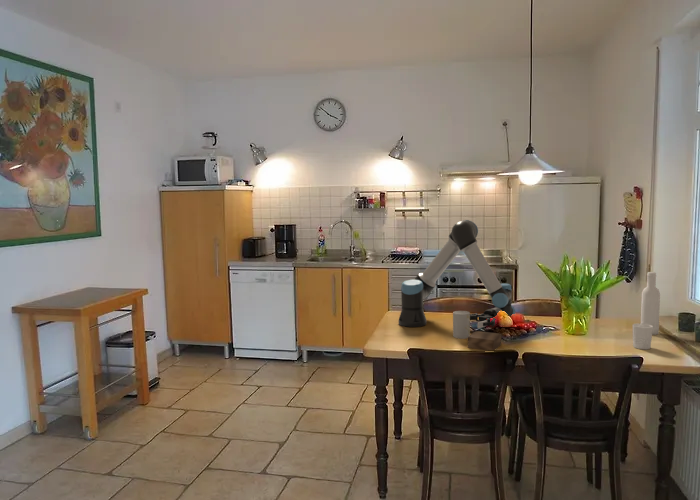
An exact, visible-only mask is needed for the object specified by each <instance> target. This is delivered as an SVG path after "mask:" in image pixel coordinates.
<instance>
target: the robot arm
mask: <svg viewBox="0 0 700 500" xmlns="http://www.w3.org/2000/svg"><path fill="white" fill-rule="evenodd" d="M478 234H479V228H478V226H477V225H476V223H475V222H473V221H472V220H469V219H464V220H461V221H458V222H456V223H454V225H453V226H452V228H451V232H450V233H449V234H448V240H447V242H446V243H445V244H444V245H443V247H441V249H440V250H439V252H438V253H437V254H436V255H435V256H434V258H433V259H432V261H431V262H430V263H429V264H428V266H427V267H426V268H425V269H424V271H423V272H419V273H418V274H417V275H416V277H415V278H414V279H408V280H407V279H406V280H404V281H403V282H402V283H401V289H400V290H401V295H400V296H401V311H400V314H399V318H398V325H399V326H401V327H406V328H418V327H424V326H427V318H426V314H425V312H424V300H425V299H427V298H428V297H429V296H430V295H431V292H433V290H434V288H435V287H436V286H437V285H436V282H437V280H438V279H439V278H440V277H441V276H442V274H443V273H444V272H445V270H446V269H447V268H448V267H449V266H450V264H451V263H452V262H453V260H455V259H456V257H457V256H458V254H459V253H460V252H463V253H464V254H465V256H466V258H467V260H468V261H469V263H470V265H471V266H472V268H473V269H474V271H475V273H476V274H477V277H478V278H479V280H480V281H481V283H482V284H483V286H484V287H485V289H486V291H487V292H488V294H489V296H490V298H491V301H492V304H493V306H494V308H489V309H486V310H485V311H483V313H477V312H475V313H470V321H476V322H477V327H476V328H477V329H481V328H485V327H495V326H496V324H495V320H496V319H495V318H493V317H495V316H496V315H497V313H498V312H499V311H500V310H502V311H505V312H506V313H507V314H508V315H509V316H511V315H512V314H515V315H516V309H515V308H514V306H513V305H512V291H513V290H512V284H510V283H500V281H499V279H498V277H497V276H496V274H495V272H494V271H493V269H492V268H491V266H490V264H489V262H488V261H487V259H486V257H485V256H484V254H483V253H482V250H481V249H480V247H479V246H478V240H477V239H476V238H477V236H478ZM490 318H493V320H492V321H491V322H490ZM486 319H487V320H486Z"/></svg>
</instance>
